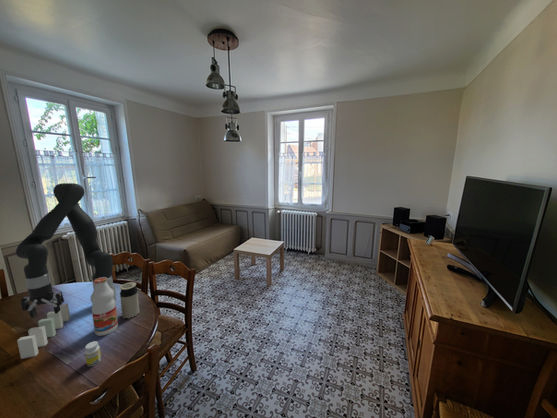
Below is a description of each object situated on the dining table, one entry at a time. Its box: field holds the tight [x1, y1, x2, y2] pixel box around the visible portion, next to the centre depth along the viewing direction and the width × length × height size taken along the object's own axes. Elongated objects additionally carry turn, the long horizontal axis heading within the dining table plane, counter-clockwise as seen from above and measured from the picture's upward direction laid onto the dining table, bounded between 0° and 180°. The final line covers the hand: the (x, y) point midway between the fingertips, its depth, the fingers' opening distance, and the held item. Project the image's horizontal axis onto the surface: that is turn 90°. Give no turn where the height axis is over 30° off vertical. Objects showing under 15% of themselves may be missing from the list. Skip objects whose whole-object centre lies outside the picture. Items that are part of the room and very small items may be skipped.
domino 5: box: [60, 303, 71, 322], centre depth 116 cm, size 2×5×9 cm, turn 108°
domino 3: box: [37, 317, 57, 338], centre depth 105 cm, size 2×5×9 cm, turn 108°
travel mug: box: [119, 281, 140, 319], centre depth 121 cm, size 8×8×18 cm
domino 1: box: [16, 335, 39, 360], centre depth 93 cm, size 2×5×9 cm, turn 108°
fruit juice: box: [90, 277, 119, 337], centre depth 108 cm, size 9×9×28 cm
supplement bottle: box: [84, 340, 102, 367], centre depth 91 cm, size 5×5×8 cm
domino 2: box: [27, 326, 49, 348], centre depth 99 cm, size 2×5×9 cm, turn 108°
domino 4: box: [46, 310, 64, 330], centre depth 110 cm, size 2×5×9 cm, turn 108°
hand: (46, 314), depth 104 cm, fingers open, 8 cm apart
